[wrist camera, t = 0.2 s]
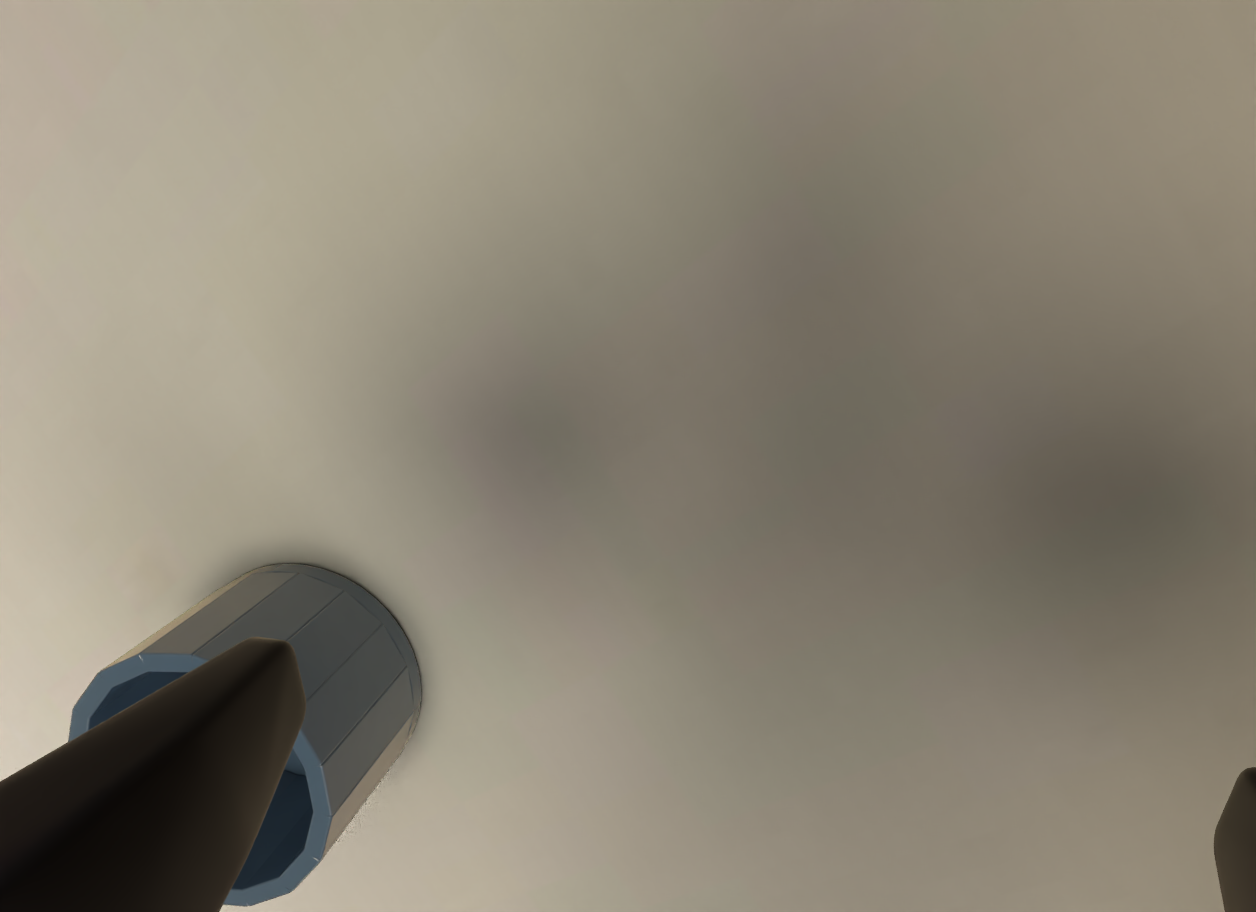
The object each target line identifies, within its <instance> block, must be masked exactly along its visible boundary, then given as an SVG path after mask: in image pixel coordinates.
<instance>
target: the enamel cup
mask: <svg viewBox="0 0 1256 912" xmlns="http://www.w3.org/2000/svg"><path fill="white" fill-rule="evenodd" d="M251 637H263V638H271V639H279V640H285V641H287V642H289V643H290V644H291V645H292V647H293V648H294V651H295V654H296V658H297V663H298V667H299V671H300V675H301V679H302V684H303V688H304V692H305V696H306V712H305V717H304V721H303V724H302V726H301V729H300V731H299V734H298V736H297V739H296V741H295V744H294V746H293V749H292V751H291V753H290V756H289V758H288V761H287V763H286V766H285V768H284V771H283V773H282V776H281V778H280V781H279V783H278V785H277V788H276V790H275V793H274V795H273V798H272V800H271V803H270V805H269V808H268V810H267V812H266V815H265V817H264V820H263V822H262V825H261V827H260V830H259V832H258V835H257V837H256V839H255V841H254V844H253V846H252V848H251V850H250V853H249V855H248V857H247V859H246V861H245V863H244V865H243V867H242V869H241V871H240V873H239V875H238V877H237V879H236V881H235V883H234V885H233V886H232V888H231V890H230V892H229V894H228V896H227V898H226V900H225V901H224V903H223V905H235V906H252V905H255V904H258V903H261V902H264V901H267V900H270V899H273V898H276V897H279V896H282V895H285V894H288V893H290V892H291V891H293V890H295V888H296V887H297V886H298V885H299V884H300V883H301V882H302V881H303V880H304V879H305V878H306V877H307V876H308V875H309V874H310V873H311V871H312V870H313V869H314V868H315V867H316V866H317V865H318V864H319V863H320V862H321V861H322V859H323V858H324V857H325V855H326V854H327V852H328V851H329V850H330V848H331V847H332V846H333V844H334V843H335V842H336V840H337V839H338V838H339V836H340V835H341V834H342V832H343V831H344V830H345V828H346V827H347V825H348V824H349V823H350V821H351V820H352V819H353V817H354V816H355V815H356V813H357V812H358V811H359V809H360V808H361V807H362V805H363V804H364V803H365V801H366V800H367V798H368V797H369V796H370V794H371V793H372V792H373V790H374V789H375V788H376V786H377V785H378V784H379V782H380V781H381V780H382V778H383V777H384V776H385V774H386V773H387V771H388V770H389V769H390V767H391V766H392V765H393V763H394V762H395V761H396V759H397V758H398V757H399V755H400V754H401V753H402V751H403V749H404V747H405V745H406V743H407V742H408V740H409V738H410V736H411V735H412V733H413V731H414V728H415V726H416V723H417V720H418V716H419V711H420V706H421V681H420V674H419V669H418V665H417V661H416V658H415V655H414V653H413V650H412V647H411V645H410V643H409V641H408V639H407V637H406V635H405V633H404V632H403V630H402V629H401V627H400V626H399V624H398V623H397V621H396V620H395V619H394V618H393V616H392V615H391V614H390V613H389V612H388V610H387V609H386V608H385V607H384V606H383V605H382V604H381V603H380V602H379V601H378V600H377V599H376V598H375V597H373V596H372V595H371V594H370V593H368V592H367V591H366V590H364V589H363V588H362V587H360V586H359V585H357V584H355V583H354V582H352V581H350V580H349V579H347V578H345V577H342V576H340V575H338V574H336V573H334V572H331V571H328V570H325V569H322V568H319V567H314V566H308V565H302V564H276V565H270V566H265V567H261V568H258V569H255V570H253V571H250V572H247V573H246V574H244V575H242V576H240V577H239V578H237V579H235V580H234V581H233V582H231V583H230V584H228V585H226V586H224V587H222V588H220V589H218V590H216V591H215V592H213V593H212V594H210V595H209V596H208V597H206V598H205V599H203V600H202V601H200V602H199V603H198V604H196V605H195V606H193V607H192V608H190V609H189V610H187V611H186V612H185V613H183V614H182V615H180V616H179V617H177V618H176V619H174V620H173V621H172V622H170V623H169V624H167V625H166V626H164V627H163V628H161V629H160V630H159V631H157V632H156V633H154V634H153V635H151V636H150V637H148V638H147V639H146V640H144V641H143V642H141V643H140V644H138V645H137V646H135V647H134V648H133V649H131V650H130V651H128V652H127V653H125V654H124V655H122V656H121V657H120V658H118V659H117V660H115V661H114V662H112V663H111V664H109V665H108V666H107V667H105V668H104V669H102V670H101V671H100V672H98V673H97V675H96V676H95V677H94V679H93V680H92V682H91V683H90V684H89V686H88V687H87V689H86V690H85V691H84V693H83V694H82V696H81V697H80V698H79V700H78V701H77V703H76V704H75V705H74V708H73V710H72V717H71V725H70V732H69V740H68V742H69V741H71V740H73V739H75V738H76V737H78V736H80V735H81V734H83V733H85V732H87V731H88V730H90V729H92V728H94V727H95V726H97V725H99V724H100V723H102V722H104V721H106V720H107V719H109V718H111V717H112V716H114V715H116V714H118V713H119V712H121V711H123V710H124V709H126V708H128V707H130V706H131V705H133V704H135V703H137V702H138V701H140V700H142V699H143V698H145V697H147V696H149V695H150V694H152V693H154V692H155V691H157V690H159V689H161V688H162V687H164V686H166V685H168V684H169V683H171V682H173V681H174V680H176V679H178V678H180V677H181V676H183V675H185V674H186V673H188V672H190V671H192V670H193V669H195V668H197V667H199V666H200V665H202V664H204V663H205V662H207V661H209V660H211V659H212V658H214V657H216V656H217V655H219V654H221V653H223V652H224V651H226V650H228V649H229V648H231V647H233V646H235V645H236V644H238V643H240V642H242V641H243V640H246V639H248V638H251Z"/></svg>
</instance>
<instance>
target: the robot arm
mask: <svg viewBox="0 0 1256 912" xmlns="http://www.w3.org/2000/svg"><path fill="white" fill-rule="evenodd" d="M305 712H306V696H305V692H304V688H303V684H302V679H301V675H300V671H299V667H298V663H297V658H296V654H295V651H294V648H293V647H292V645H291V644H290V643H289V642H287V641H285V640H279V639H271V638H263V637H251V638H248V639H246V640H243V641H242V642H240V643H238V644H236V645H235V646H233V647H231V648H229V649H228V650H226V651H224V652H223V653H221V654H219V655H217V656H216V657H214V658H212V659H211V660H209V661H207V662H205V663H204V664H202V665H200V666H199V667H197V668H195V669H193V670H192V671H190V672H188V673H186V674H185V675H183V676H181V677H180V678H178V679H176V680H174V681H173V682H171V683H169V684H168V685H166V686H164V687H162V688H161V689H159V690H157V691H155V692H154V693H152V694H150V695H149V696H147V697H145V698H143V699H142V700H140V701H138V702H137V703H135V704H133V705H131V706H130V707H128V708H126V709H124V710H123V711H121V712H119V713H118V714H116V715H114V716H112V717H111V718H109V719H107V720H106V721H104V722H102V723H100V724H99V725H97V726H95V727H94V728H92V729H90V730H88V731H87V732H85V733H83V734H81V735H80V736H78V737H76V738H75V739H73V740H71V741H69V742H68V743H66V744H64V745H63V746H61V747H59V748H57V749H56V750H54V751H52V752H50V753H49V754H47V755H45V756H44V757H42V758H40V759H38V760H37V761H35V762H33V763H32V764H30V765H28V766H26V767H25V768H23V769H21V770H19V771H18V772H16V773H14V774H13V775H11V776H9V777H7V778H6V779H4V780H2V781H1V782H0V912H219V911H220V909H221V907H222V905H223V903H224V901H225V900H226V898H227V896H228V894H229V892H230V890H231V888H232V886H233V885H234V883H235V881H236V879H237V877H238V875H239V873H240V871H241V869H242V867H243V865H244V863H245V861H246V859H247V857H248V855H249V853H250V850H251V848H252V846H253V844H254V841H255V839H256V837H257V835H258V832H259V830H260V827H261V825H262V822H263V820H264V817H265V815H266V812H267V810H268V808H269V805H270V803H271V800H272V798H273V795H274V793H275V790H276V788H277V785H278V783H279V781H280V778H281V776H282V773H283V771H284V768H285V766H286V763H287V761H288V758H289V756H290V753H291V751H292V749H293V746H294V744H295V741H296V739H297V736H298V734H299V731H300V729H301V726H302V724H303V721H304V717H305ZM1214 855H1215V861H1216V866H1217V872H1218V877H1219V883H1220V888H1221V893H1222V899H1223V904H1224V910H1225V912H1256V767H1252V768H1247V769H1245V770H1244V771H1243V772H1241V773H1240V775H1239V777H1238V778H1237V780H1236V783H1235V785H1234V787H1233V790H1232V792H1231V794H1230V797H1229V799H1228V801H1227V803H1226V806H1225V808H1224V810H1223V813H1222V815H1221V817H1220V820H1219V822H1218V824H1217V827H1216V830H1215V835H1214Z"/></svg>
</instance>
